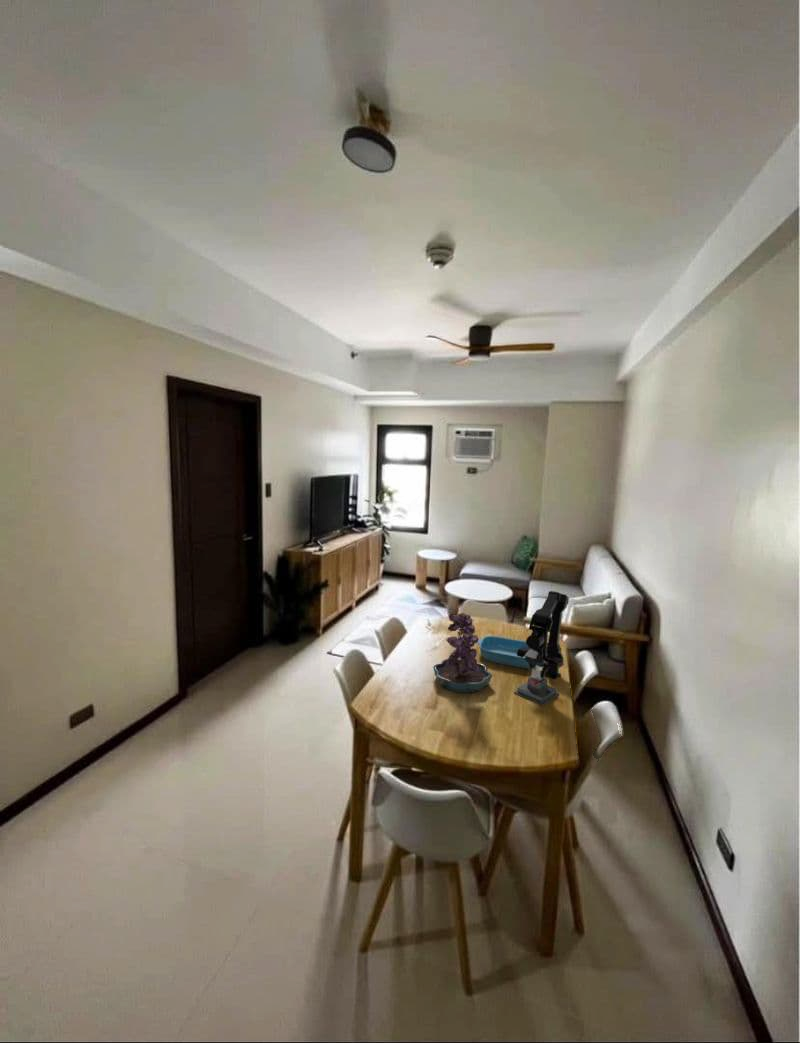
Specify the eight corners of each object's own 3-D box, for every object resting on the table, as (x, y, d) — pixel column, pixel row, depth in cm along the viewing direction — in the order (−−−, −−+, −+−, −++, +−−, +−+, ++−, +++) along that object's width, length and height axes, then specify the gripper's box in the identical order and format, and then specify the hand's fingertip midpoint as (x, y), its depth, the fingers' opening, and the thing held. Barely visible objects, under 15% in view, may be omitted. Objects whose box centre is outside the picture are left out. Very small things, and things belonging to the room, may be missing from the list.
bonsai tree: (438, 664, 215) (441, 600, 212) (494, 672, 208) (497, 607, 204) (421, 699, 182) (424, 624, 178) (487, 710, 174) (491, 633, 171)
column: (534, 688, 192) (536, 665, 191) (543, 692, 189) (545, 668, 188) (529, 692, 189) (531, 668, 188) (538, 695, 186) (540, 671, 185)
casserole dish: (550, 657, 227) (551, 644, 226) (548, 675, 207) (549, 661, 206) (480, 645, 241) (481, 633, 240) (472, 661, 220) (473, 648, 219)
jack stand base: (530, 682, 199) (531, 668, 198) (559, 694, 189) (560, 679, 188) (513, 692, 189) (514, 677, 188) (543, 705, 179) (545, 690, 178)
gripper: (511, 640, 187) (509, 674, 189) (551, 654, 174) (549, 690, 176) (524, 633, 195) (522, 666, 197) (564, 646, 182) (561, 681, 184)
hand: (537, 676), depth 188 cm, fingers closed on column, 4 cm apart
